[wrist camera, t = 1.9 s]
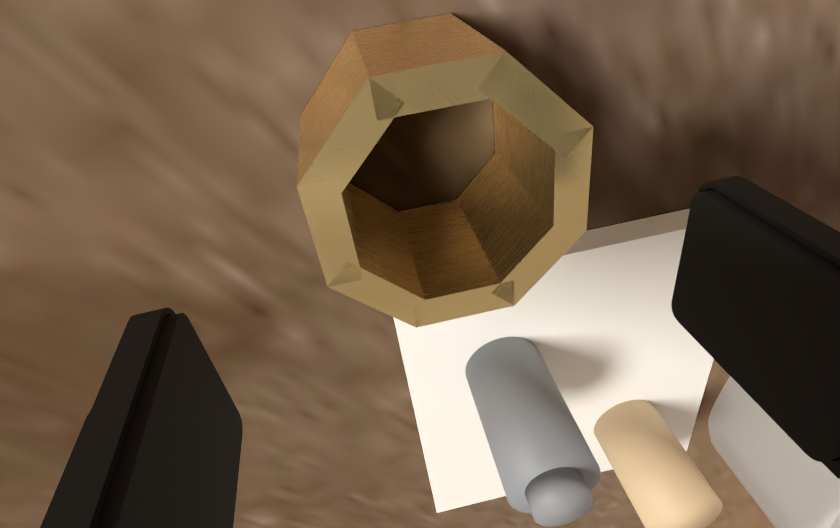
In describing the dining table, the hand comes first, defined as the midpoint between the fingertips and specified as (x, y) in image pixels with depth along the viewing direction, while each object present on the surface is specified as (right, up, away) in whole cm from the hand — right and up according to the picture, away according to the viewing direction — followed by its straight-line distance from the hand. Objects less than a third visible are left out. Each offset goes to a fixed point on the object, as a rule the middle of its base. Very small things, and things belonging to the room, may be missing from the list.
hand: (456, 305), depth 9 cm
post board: (+6, -4, +14) cm, 16 cm away
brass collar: (-1, +5, +7) cm, 8 cm away
